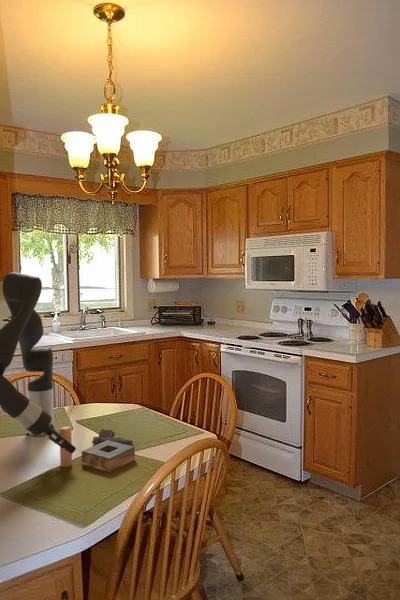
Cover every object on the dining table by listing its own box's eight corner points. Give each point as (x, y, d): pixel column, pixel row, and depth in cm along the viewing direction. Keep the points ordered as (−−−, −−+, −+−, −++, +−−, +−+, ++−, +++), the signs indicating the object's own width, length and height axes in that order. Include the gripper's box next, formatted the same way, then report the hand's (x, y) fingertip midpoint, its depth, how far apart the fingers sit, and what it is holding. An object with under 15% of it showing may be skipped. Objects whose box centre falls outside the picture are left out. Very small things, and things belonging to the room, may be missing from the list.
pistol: (140, 438, 184) (131, 449, 172) (101, 436, 186) (89, 446, 174) (140, 431, 184) (131, 441, 172) (101, 428, 186) (89, 438, 174)
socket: (82, 464, 157) (81, 451, 157) (108, 452, 167) (107, 440, 167) (109, 472, 151) (109, 458, 151) (134, 459, 161) (134, 446, 161)
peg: (58, 465, 156) (57, 428, 156) (66, 462, 159) (65, 425, 159) (65, 468, 155) (65, 430, 154) (74, 464, 158) (73, 427, 157)
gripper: (46, 413, 146) (85, 444, 152) (36, 402, 158) (72, 431, 165) (28, 433, 144) (68, 464, 150) (19, 421, 156) (57, 450, 162)
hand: (70, 447), depth 157 cm, fingers open, 7 cm apart
